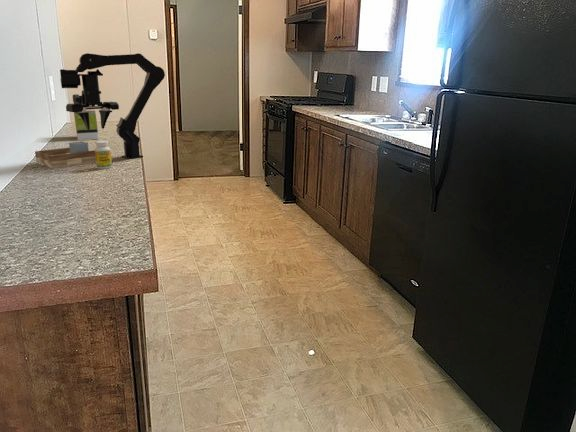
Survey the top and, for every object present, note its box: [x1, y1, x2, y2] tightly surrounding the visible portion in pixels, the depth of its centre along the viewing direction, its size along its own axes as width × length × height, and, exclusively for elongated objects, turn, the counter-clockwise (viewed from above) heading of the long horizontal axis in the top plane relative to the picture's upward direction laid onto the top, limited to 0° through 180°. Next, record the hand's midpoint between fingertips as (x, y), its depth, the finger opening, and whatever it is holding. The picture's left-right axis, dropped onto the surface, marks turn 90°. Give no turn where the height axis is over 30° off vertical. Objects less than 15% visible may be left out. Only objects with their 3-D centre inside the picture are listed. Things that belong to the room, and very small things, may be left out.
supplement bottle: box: [94, 140, 113, 170], centre depth 172 cm, size 5×5×10 cm
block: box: [68, 140, 90, 153], centre depth 181 cm, size 5×5×5 cm
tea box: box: [73, 109, 100, 141], centre depth 240 cm, size 15×10×15 cm, turn 25°
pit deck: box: [34, 147, 96, 169], centre depth 182 cm, size 14×20×4 cm
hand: (95, 129), depth 184 cm, fingers open, 6 cm apart
